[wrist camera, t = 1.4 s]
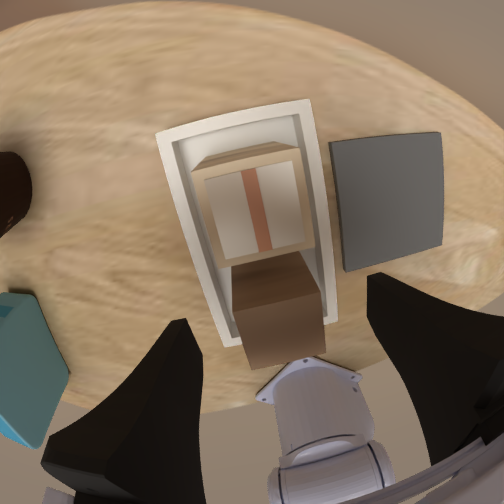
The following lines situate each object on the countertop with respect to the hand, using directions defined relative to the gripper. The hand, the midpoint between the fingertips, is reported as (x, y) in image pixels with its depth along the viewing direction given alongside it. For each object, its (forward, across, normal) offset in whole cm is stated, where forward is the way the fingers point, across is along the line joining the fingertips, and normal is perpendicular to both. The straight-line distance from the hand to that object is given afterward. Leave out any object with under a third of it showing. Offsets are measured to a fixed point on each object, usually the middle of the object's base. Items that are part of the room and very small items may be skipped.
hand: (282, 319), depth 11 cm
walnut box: (+10, 0, +4) cm, 11 cm away
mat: (+10, -11, 0) cm, 15 cm away
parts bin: (+10, 0, 0) cm, 10 cm away
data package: (+11, +25, +6) cm, 28 cm away
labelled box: (+10, 0, -4) cm, 11 cm away
